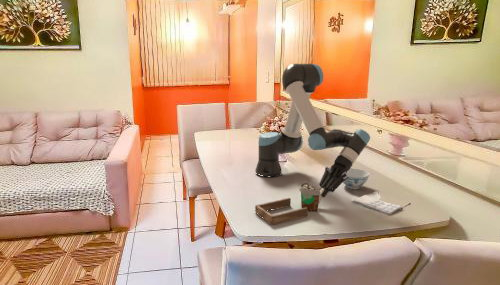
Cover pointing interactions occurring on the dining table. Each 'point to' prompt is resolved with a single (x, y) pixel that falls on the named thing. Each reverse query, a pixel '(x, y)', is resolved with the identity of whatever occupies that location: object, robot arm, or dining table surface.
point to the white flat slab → (376, 203)
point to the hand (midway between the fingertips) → (316, 201)
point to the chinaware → (356, 178)
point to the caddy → (282, 217)
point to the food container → (309, 197)
